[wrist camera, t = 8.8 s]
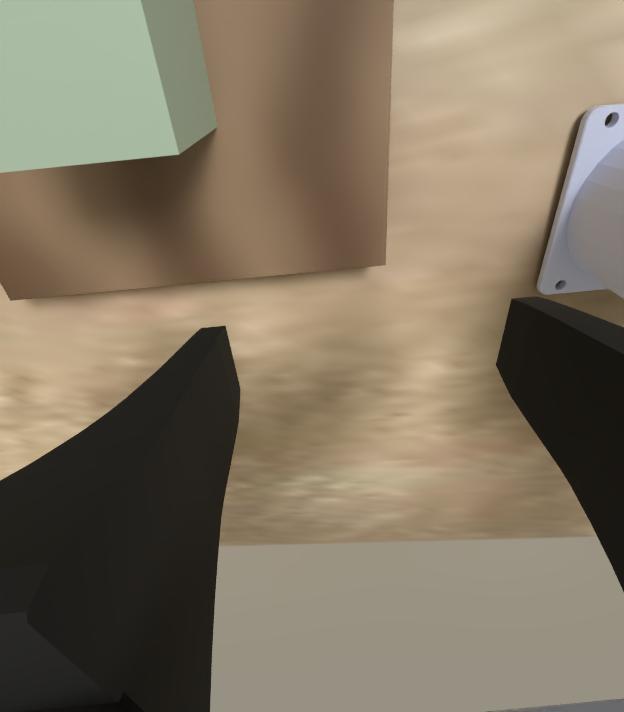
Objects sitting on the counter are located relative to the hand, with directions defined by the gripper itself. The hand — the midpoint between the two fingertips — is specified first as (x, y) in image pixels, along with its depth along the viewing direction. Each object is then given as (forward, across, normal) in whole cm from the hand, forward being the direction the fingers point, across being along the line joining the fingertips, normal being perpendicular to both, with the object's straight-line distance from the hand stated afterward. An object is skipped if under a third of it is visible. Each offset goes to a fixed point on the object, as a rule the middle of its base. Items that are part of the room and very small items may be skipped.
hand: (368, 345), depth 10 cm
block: (+7, +6, -7) cm, 12 cm away
